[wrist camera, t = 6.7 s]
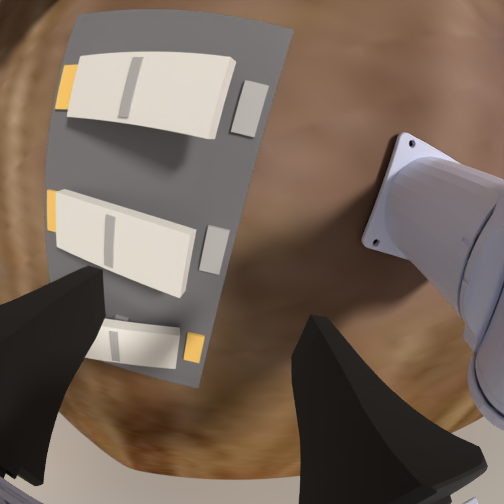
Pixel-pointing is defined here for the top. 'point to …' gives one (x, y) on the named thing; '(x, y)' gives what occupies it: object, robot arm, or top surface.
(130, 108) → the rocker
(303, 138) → the top surface
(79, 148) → the switch panel
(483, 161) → the top surface
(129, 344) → the rocker
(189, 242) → the rocker
